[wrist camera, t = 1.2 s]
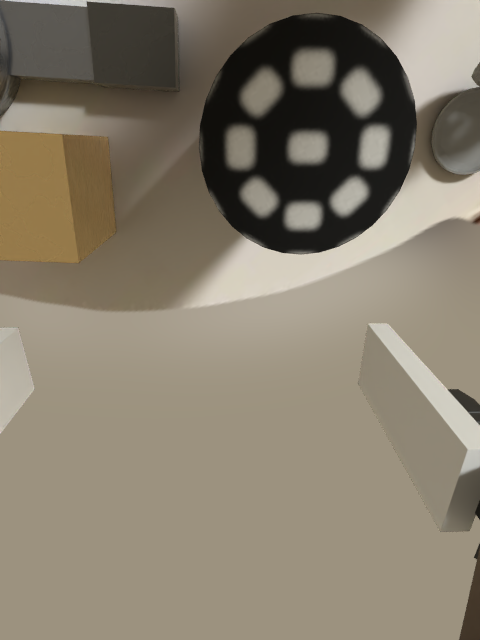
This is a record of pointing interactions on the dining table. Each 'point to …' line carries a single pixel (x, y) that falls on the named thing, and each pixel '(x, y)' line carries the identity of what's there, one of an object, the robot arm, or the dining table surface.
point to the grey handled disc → (88, 46)
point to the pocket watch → (459, 132)
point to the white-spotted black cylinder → (307, 133)
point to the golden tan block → (54, 196)
